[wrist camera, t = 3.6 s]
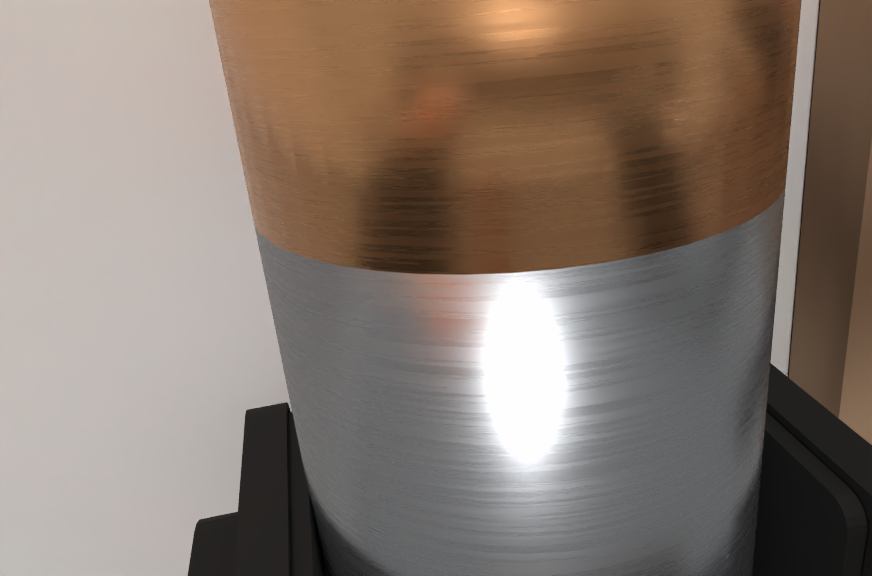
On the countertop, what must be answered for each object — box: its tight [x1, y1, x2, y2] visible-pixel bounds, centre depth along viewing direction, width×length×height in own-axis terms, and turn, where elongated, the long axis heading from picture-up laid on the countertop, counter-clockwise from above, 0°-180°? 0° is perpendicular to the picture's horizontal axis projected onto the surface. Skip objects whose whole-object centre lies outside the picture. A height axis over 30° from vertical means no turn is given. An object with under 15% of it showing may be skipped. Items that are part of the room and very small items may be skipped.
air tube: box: [209, 0, 801, 576], centre depth 9 cm, size 20×5×5 cm, turn 6°
